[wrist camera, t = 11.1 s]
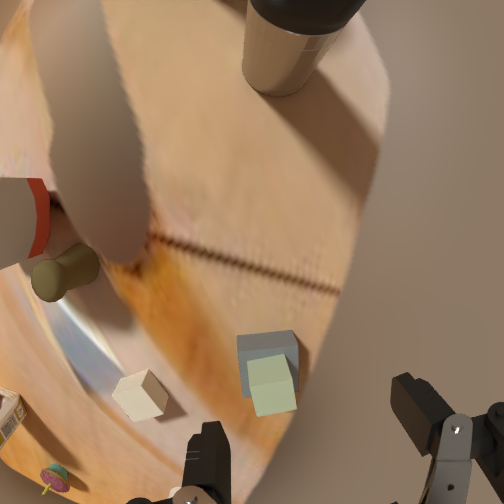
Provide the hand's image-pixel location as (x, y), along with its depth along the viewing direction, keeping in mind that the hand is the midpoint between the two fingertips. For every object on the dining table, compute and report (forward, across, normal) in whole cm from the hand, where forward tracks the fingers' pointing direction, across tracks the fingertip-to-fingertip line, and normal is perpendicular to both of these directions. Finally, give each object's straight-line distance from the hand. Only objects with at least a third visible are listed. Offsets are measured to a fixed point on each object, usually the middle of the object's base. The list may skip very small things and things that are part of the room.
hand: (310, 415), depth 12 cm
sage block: (+24, +2, +14) cm, 28 cm away
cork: (+29, +25, -5) cm, 39 cm away
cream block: (+29, +23, +17) cm, 40 cm away
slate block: (+29, +2, +15) cm, 33 cm away
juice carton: (+28, +60, +20) cm, 69 cm away
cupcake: (+28, +61, +44) cm, 80 cm away
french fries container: (+29, +31, -14) cm, 45 cm away
